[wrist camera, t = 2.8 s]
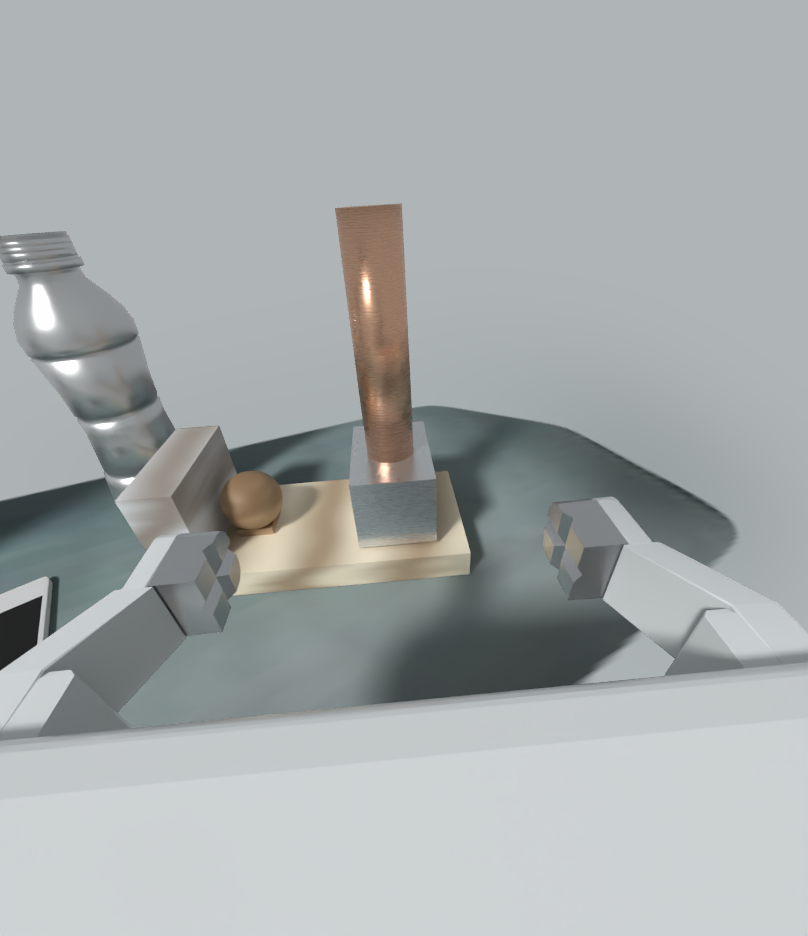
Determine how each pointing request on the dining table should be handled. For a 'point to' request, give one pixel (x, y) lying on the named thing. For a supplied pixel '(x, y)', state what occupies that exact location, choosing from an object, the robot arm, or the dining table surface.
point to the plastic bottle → (86, 353)
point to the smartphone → (24, 619)
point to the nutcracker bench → (283, 523)
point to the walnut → (252, 503)
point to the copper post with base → (384, 385)
